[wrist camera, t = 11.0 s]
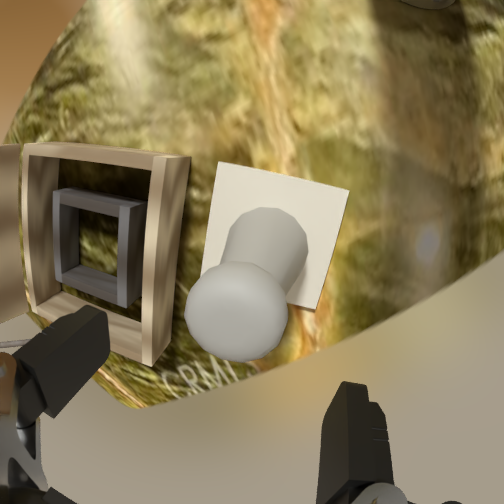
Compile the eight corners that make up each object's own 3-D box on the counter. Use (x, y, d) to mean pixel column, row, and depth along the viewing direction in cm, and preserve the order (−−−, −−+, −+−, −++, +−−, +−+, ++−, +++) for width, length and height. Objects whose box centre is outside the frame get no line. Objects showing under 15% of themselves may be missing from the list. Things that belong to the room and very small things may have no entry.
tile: (220, 161, 23) (218, 161, 23) (348, 189, 22) (349, 190, 22) (202, 277, 27) (200, 279, 26) (315, 306, 25) (315, 309, 25)
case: (42, 140, 25) (-64, 154, 13) (191, 156, 23) (71, 168, 11) (45, 297, 32) (-32, 350, 19) (170, 349, 30) (102, 446, 17)
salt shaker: (322, 249, 23) (333, 351, 11) (263, 286, 25) (221, 400, 13) (278, 186, 22) (242, 227, 10) (219, 228, 24) (135, 304, 12)
